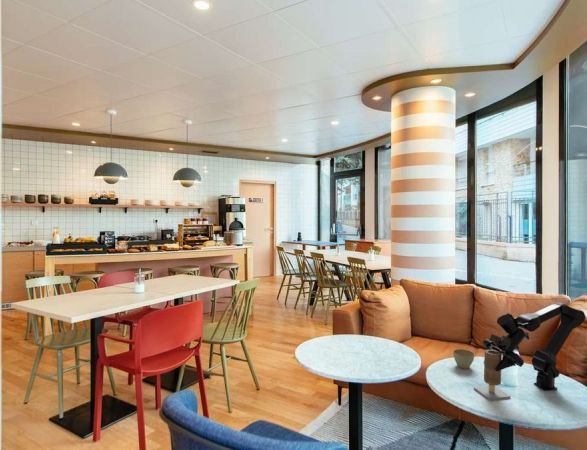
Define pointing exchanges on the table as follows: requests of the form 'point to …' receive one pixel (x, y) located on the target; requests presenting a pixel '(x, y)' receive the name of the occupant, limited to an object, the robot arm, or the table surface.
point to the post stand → (491, 392)
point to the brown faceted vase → (492, 367)
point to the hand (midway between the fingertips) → (489, 367)
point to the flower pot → (463, 357)
